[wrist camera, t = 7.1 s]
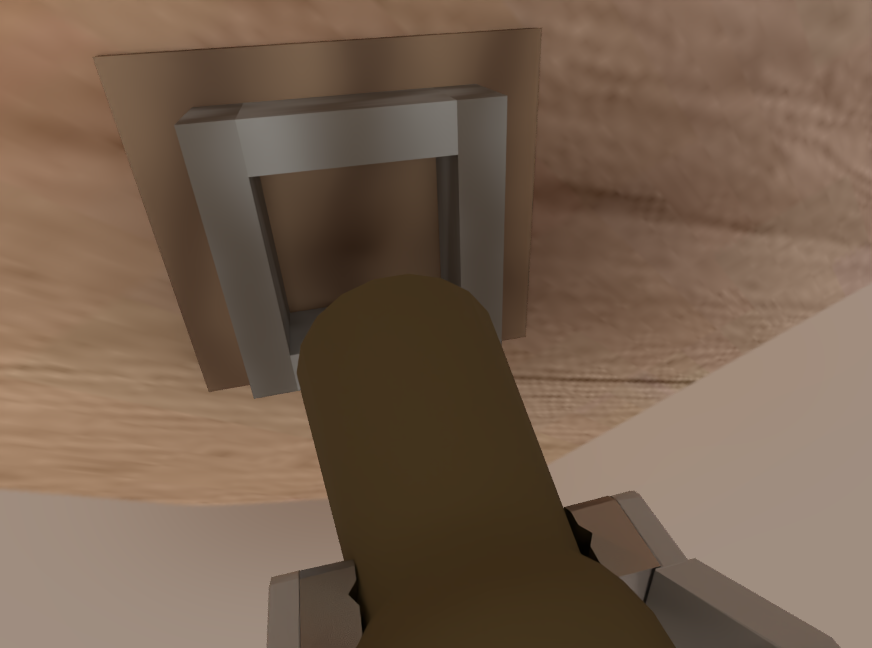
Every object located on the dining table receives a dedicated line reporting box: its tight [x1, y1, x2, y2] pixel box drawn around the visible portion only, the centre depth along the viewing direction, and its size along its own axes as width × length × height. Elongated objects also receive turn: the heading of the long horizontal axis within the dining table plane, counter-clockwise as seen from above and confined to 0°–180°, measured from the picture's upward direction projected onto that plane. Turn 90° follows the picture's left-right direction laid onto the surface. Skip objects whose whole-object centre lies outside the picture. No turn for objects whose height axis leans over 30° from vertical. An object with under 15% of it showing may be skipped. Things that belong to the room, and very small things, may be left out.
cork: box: [297, 274, 676, 648], centre depth 11 cm, size 6×6×11 cm
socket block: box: [93, 28, 542, 399], centre depth 24 cm, size 18×16×5 cm
